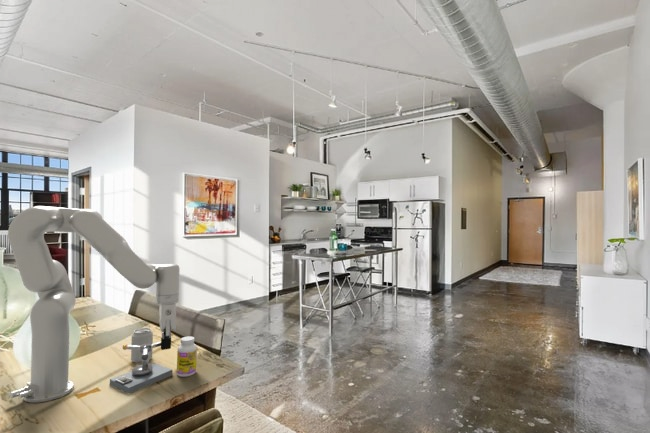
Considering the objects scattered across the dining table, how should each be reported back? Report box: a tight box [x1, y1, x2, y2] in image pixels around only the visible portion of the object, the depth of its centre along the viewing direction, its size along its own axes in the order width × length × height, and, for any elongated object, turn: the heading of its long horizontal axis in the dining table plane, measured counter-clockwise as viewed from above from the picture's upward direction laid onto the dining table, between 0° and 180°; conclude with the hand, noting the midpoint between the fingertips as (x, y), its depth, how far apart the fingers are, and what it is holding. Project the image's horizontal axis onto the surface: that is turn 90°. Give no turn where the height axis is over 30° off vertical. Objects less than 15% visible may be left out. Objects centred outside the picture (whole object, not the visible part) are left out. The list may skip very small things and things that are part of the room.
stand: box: [109, 362, 173, 395], centre depth 121 cm, size 16×11×4 cm
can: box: [130, 327, 154, 364], centre depth 138 cm, size 8×8×12 cm
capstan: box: [122, 341, 161, 376], centre depth 122 cm, size 14×17×10 cm
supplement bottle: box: [176, 335, 198, 378], centre depth 127 cm, size 7×7×13 cm
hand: (165, 348), depth 126 cm, fingers closed
